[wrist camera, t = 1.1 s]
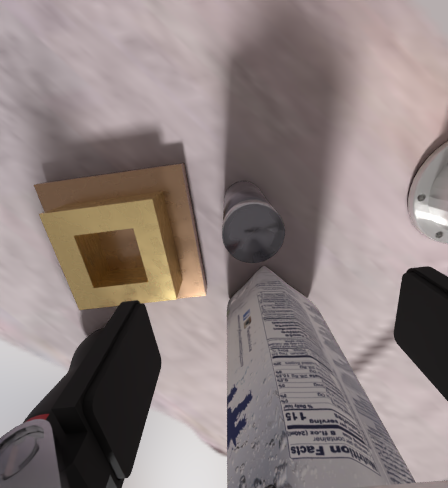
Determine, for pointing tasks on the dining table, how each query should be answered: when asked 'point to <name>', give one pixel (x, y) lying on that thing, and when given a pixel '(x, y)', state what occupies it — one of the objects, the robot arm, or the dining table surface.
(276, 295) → the juice carton
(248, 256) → the grey metal can
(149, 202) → the frame
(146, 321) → the robot arm
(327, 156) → the dining table surface
